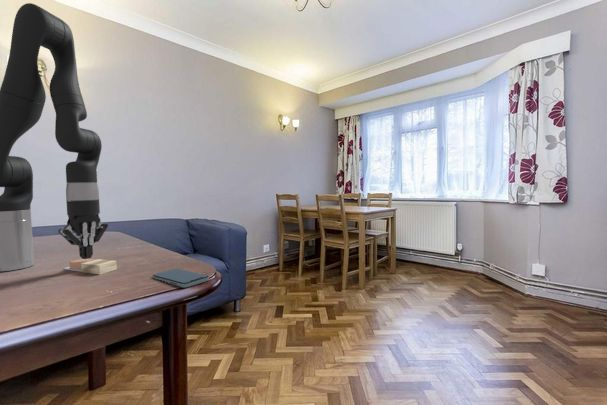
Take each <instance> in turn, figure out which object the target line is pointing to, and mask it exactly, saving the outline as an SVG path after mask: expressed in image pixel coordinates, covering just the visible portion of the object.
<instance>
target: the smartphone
mask: <svg viewBox="0 0 607 405" xmlns="http://www.w3.org/2000/svg"><path fill="white" fill-rule="evenodd" d="M154 278H156V279H155V280H157V279H159V280H158V281H160V280H162V281H161V282H163V281H165V282H164V283H166V282H168V283H167V284H169V283H170V285H172V286H176V287H179V288H183V289H185V288H191V287H193V286H196V285H199V284H202V283H203V284H204V283H205V282H208V281H210V276H209V275H207V274H204V273H199V272H193V271H190V270H186V269H180V268H174V269H170V270H166V271H162V272H157V273H155V274H153V275H152V279H154Z"/></svg>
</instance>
